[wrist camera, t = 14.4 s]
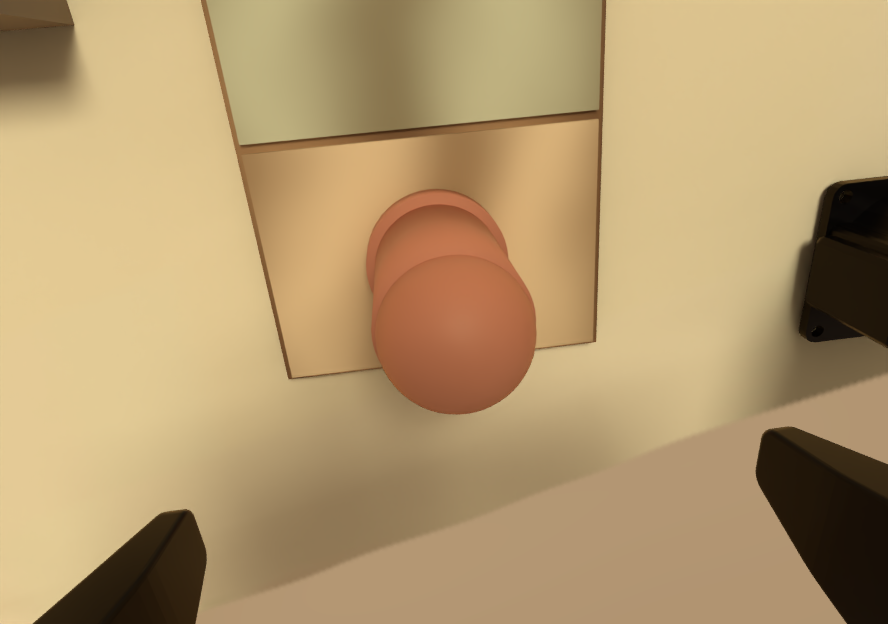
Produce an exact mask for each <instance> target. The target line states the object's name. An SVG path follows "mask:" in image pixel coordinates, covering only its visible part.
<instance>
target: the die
mask: <svg viewBox="0 0 888 624" xmlns="http://www.w3.org/2000/svg"><path fill="white" fill-rule="evenodd" d="M67 25H74V22H73V19H72V16H71V13H70V10H69V7H68V4H67V0H0V31H11V30H22V29H33V28H45V27H56V26H67Z"/></svg>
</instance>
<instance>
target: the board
mask: <svg viewBox="0 0 888 624" xmlns="http://www.w3.org/2000/svg"><path fill="white" fill-rule="evenodd" d="M201 3H202V7H203V12H204V16H205V20H206V25H207V29H208V33H209V37H210V42H211V46H212V50H213V55H214V59H215V63H216V68H217V72H218V76H219V81H220V85H221V89H222V94H223V98H224V102H225V107H226V111H227V115H228V120H229V124H230V128H231V133H232V137H233V141H234V145H235V150H236V154H237V158H238V163H239V167H240V171H241V176H242V180H243V184H244V189H245V193H246V197H247V202H248V206H249V210H250V215H251V219H252V223H253V228H254V232H255V236H256V241H257V245H258V249H259V254H260V258H261V262H262V266H263V271H264V275H265V279H266V284H267V288H268V292H269V297H270V301H271V305H272V310H273V314H274V318H275V323H276V327H277V331H278V336H279V340H280V344H281V349H282V353H283V357H284V362H285V366H286V370H287V375H288V379H295V378H303V377H312V376H320V375H328V374H336V373H344V372H353V371H361V370H369V369H377V368H383V367H382V365H381V363H380V361H379V360H378V358H377V355H376V353H375V350H374V346H373V342H372V334H371V324H372V308H373V293H372V291H371V288H370V285H369V282H368V278H367V272H366V257H367V248H368V243H369V238H370V235H371V233H372V230H373V228H374V226H375V224H376V222H377V221H378V219H379V218H380V216H381V215H382V214H383V213H384V212H385V211H386V210H387V209H388V208H389V207H390V206H391V205H392V204H393V203H395V202H396V201H398V200H399V199H401V198H403V197H405V196H407V195H409V194H411V193H415V192H418V191H422V190H428V189H445V190H451V191H455V192H458V193H461V194H464V195H466V196H468V197H470V198H472V199H473V200H475V201H476V202H477V203H479V204H480V205H481V206H482V207H483V208H484V209H485V210H486V211H487V212H488V213H489V214H490V216H491V217H492V218H493V220H494V221H495V222H496V224H497V225H498V227H499V229H500V230H501V232H502V234H503V237H504V239H505V242H506V246H507V250H508V259H509V260H510V262H511V263H512V265H513V267H514V268H515V270H516V271H517V273H518V274H519V276H520V277H521V279H522V280H523V282H524V284H525V285H526V287H527V289H528V290H529V292H530V295H531V297H532V300H533V303H534V307H535V313H536V331H537V336H536V346H535V349H542V348H550V347H558V346H566V345H575V344H583V343H591V342H596V326H597V292H598V258H599V224H600V190H601V156H602V122H603V88H604V54H605V21H606V0H201Z"/></svg>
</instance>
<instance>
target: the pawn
mask: <svg viewBox="0 0 888 624" xmlns="http://www.w3.org/2000/svg"><path fill="white" fill-rule="evenodd" d="M366 272H367V278H368V282H369V285H370V288H371V291H372V293H373V308H372V324H371V334H372V342H373V346H374V350H375V353H376V355H377V358H378V360H379V361H380V363H381V365H382V367H383V369H384V371H385V373H386V375H387V377H388V378H389V380H390V381H391V382H392V383H393V385H394V386H395V387H396V388H397V389H398V390H399V391H400V392H401V393H402V394H403V395H404V396H405V397H407V398H408V399H409V400H411V401H412V402H414V403H416V404H417V405H419V406H421V407H423V408H426V409H428V410H431V411H434V412H438V413H444V414H468V413H473V412H477V411H480V410H484V409H486V408H488V407H491V406H493V405H494V404H496V403H498V402H500V401H501V400H502V399H504V398H505V397H507V396H508V395H509V394H510V393H511V392H512V391H513V390H514V389H515V388H516V387H517V386H518V385H519V383H520V382H521V381H522V379H523V378H524V376H525V374H526V373H527V371H528V369H529V367H530V365H531V362H532V359H533V356H534V351H535V346H536V336H537V331H536V313H535V307H534V303H533V300H532V297H531V295H530V292H529V290H528V289H527V287H526V285H525V284H524V282H523V280H522V279H521V277H520V276H519V274H518V273H517V271H516V270H515V268H514V267H513V265H512V263H511V262H510V260H509V259H508V250H507V246H506V242H505V239H504V237H503V234H502V232H501V230H500V229H499V227H498V225H497V224H496V222H495V221H494V220H493V218H492V217H491V216H490V214H489V213H488V212H487V211H486V210H485V209H484V208H483V207H482V206H481V205H480V204H479V203H477V202H476V201H475V200H473V199H472V198H470V197H468V196H466V195H464V194H461V193H458V192H455V191H451V190H445V189H428V190H422V191H418V192H415V193H411V194H409V195H407V196H405V197H403V198H401V199H399V200H398V201H396V202H395V203H393V204H392V205H391V206H390V207H389V208H388V209H387V210H386V211H385V212H384V213H383V214H382V215H381V216H380V218H379V219H378V221H377V222H376V224H375V226H374V228H373V230H372V233H371V235H370V238H369V243H368V248H367V257H366Z"/></svg>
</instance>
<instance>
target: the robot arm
mask: <svg viewBox="0 0 888 624" xmlns="http://www.w3.org/2000/svg"><path fill="white" fill-rule="evenodd" d="M843 191H844V196H843V198H842V199H841V200H839V197H840V195H841V193H842V192H843ZM816 326H817V327H816ZM815 327H816V329H815V330H814V331H813V332H812V330H813V329H814V328H815ZM799 333H800V335H801V336H802V337H804V338H805V339H807V340H809V341H810V342H821V341H829V340H837V339H845V338H853V337H861V336H866V337H868V338H870V339H872V340H873V341H875V342H877V343H879V344H881V345H882V346H884V347H886V348H888V176H883V177H874V178H865V179H856V180H847V181H839V182H836V183H834V184H833V185H831V186H830V188H829V189H828V190H827V192H826V195H825V198H824V204H823V209H822V214H821V219H820V224H819V229H818V234H817V240H816V245H815V250H814V255H813V260H812V265H811V270H810V275H809V281H808V286H807V291H806V296H805V301H804V306H803V311H802V316H801V322H800V327H799ZM756 478H757V481H758V484H759V486H760V488H761V490H762V491H763V493H764V495H765V497H766V498H767V500H768V502H769V503H770V505H771V507H772V508H773V510H774V512H775V514H776V515H777V517H778V519H779V520H780V522H781V524H782V525H783V527H784V529H785V531H786V532H787V534H788V535H789V537H790V539H791V541H792V542H793V544H794V546H795V547H796V549H797V551H798V553H799V554H800V556H801V558H802V559H803V561H804V563H805V564H806V566H807V567H808V569H809V570H810V572H811V574H812V575H813V576H814V578H815V579H816V581H817V582H818V584H819V585H820V587H821V588H822V590H823V591H824V592H825V594H826V595H827V596H828V598H829V599H830V601H831V602H832V603H833V605H834V606H835V608H836V609H837V610H838V612H839V613H840V615H841V616H842V617H843V619H844V620H845V622H846V623H847V624H888V464H885V463H883V462H880V461H878V460H875V459H873V458H870V457H868V456H865V455H863V454H860V453H858V452H855V451H853V450H850V449H847V448H845V447H842V446H840V445H838V444H835V443H832V442H830V441H828V440H825V439H822V438H820V437H817V436H815V435H813V434H810V433H807V432H805V431H802V430H800V429H797V428H795V427H781V428H774V429H769V430H766V431H765V432H764V433H763V435H762V438H761V443H760V449H759V454H758V459H757V465H756ZM206 561H207V554H206V548H205V545H204V542H203V539H202V537H201V534H200V531H199V528H198V525H197V523H196V520H195V517H194V515H193V513H192V512H191V511H190V510H187V509H183V510H175V511H168V512H163V513H161V514H159V515H158V516H156V517H155V518H154V519H153V520H152V521H151V522H149V523H148V524H147V525H146V526H145V527H144V528H142V529H141V530H140V531H139V532H138V533H137V534H136V535H134V536H133V537H132V538H131V539H130V540H129V541H127V542H126V543H125V544H124V545H123V546H122V547H121V548H119V549H118V550H117V551H116V552H115V553H114V554H112V555H111V556H110V557H109V558H108V559H107V560H106V561H104V562H103V563H102V564H101V565H100V566H99V567H97V568H96V569H95V570H94V571H93V572H92V573H91V574H89V575H88V576H87V577H86V578H85V579H84V580H82V581H81V582H80V583H79V584H78V585H77V586H76V587H74V588H73V589H72V590H71V591H70V592H69V593H68V594H66V595H65V596H64V597H63V598H62V599H61V600H59V601H58V602H57V603H56V604H55V605H54V606H53V607H51V608H50V609H49V610H48V611H47V612H46V613H44V614H43V615H42V616H41V617H40V618H39V619H38V620H36V621H35V622H34V623H33V624H195V623H196V618H197V612H198V607H199V601H200V596H201V591H202V585H203V580H204V574H205V569H206Z"/></svg>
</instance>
